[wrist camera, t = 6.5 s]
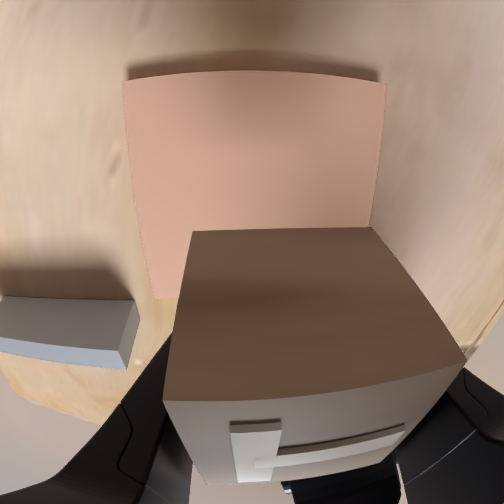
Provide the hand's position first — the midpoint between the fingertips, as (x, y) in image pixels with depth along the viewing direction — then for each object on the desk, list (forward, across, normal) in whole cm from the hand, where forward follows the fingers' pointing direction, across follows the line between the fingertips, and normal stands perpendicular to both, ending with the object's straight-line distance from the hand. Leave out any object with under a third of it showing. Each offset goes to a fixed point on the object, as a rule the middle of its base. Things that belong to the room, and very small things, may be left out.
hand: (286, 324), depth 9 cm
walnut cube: (+1, 0, 0) cm, 1 cm away
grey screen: (+11, +16, +9) cm, 21 cm away
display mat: (+11, 0, 0) cm, 11 cm away
